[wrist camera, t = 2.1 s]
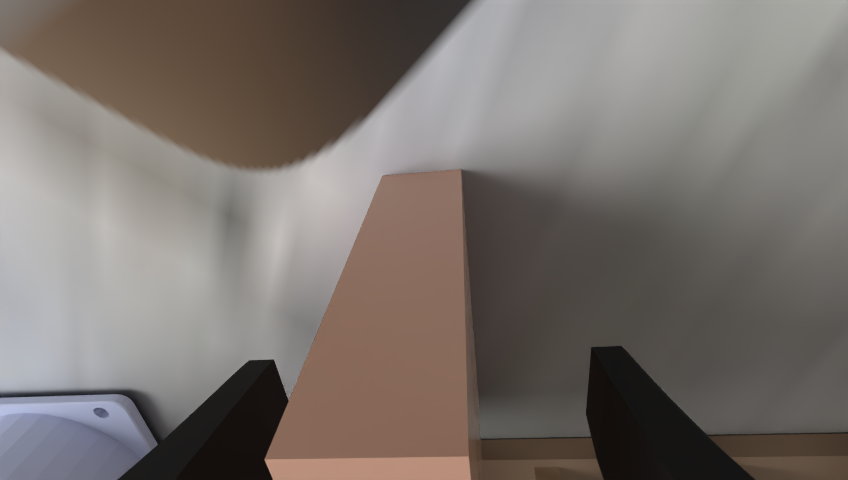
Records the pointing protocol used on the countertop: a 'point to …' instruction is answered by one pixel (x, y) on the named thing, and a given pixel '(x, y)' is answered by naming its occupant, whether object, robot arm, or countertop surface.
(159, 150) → the countertop surface
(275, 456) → the pink cardboard carton
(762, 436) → the wooden compartment tray
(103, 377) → the countertop surface
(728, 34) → the countertop surface
